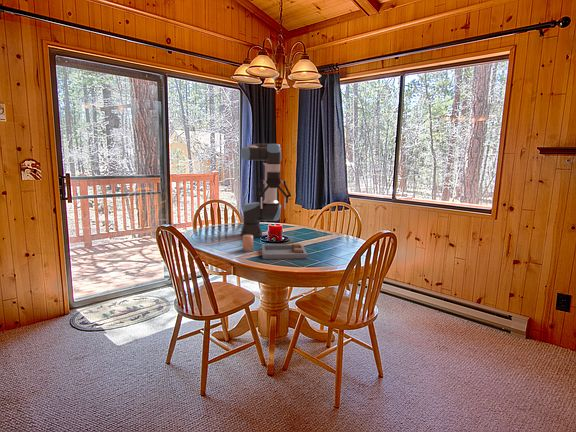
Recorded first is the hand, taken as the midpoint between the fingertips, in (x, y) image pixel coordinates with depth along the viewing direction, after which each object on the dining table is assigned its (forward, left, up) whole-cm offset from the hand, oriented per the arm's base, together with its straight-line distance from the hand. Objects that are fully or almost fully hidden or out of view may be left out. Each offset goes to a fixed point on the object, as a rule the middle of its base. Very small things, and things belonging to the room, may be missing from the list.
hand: (273, 208), depth 210 cm
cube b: (+6, +14, -26) cm, 31 cm away
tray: (+1, +6, -27) cm, 28 cm away
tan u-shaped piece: (-9, -15, -27) cm, 32 cm away
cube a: (-4, +14, -26) cm, 30 cm away
